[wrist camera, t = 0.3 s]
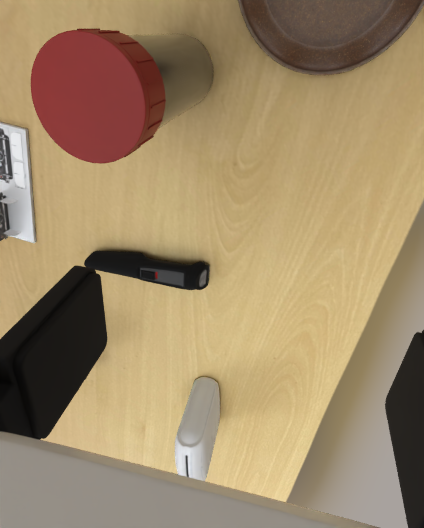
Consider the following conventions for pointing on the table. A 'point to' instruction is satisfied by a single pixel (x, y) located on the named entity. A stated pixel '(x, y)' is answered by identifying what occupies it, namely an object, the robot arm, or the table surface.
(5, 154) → the car cutout
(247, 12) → the saucer
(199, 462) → the photo printer
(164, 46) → the thermos
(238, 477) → the table surface
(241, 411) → the table surface
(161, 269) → the electric trimmer
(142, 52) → the lid
